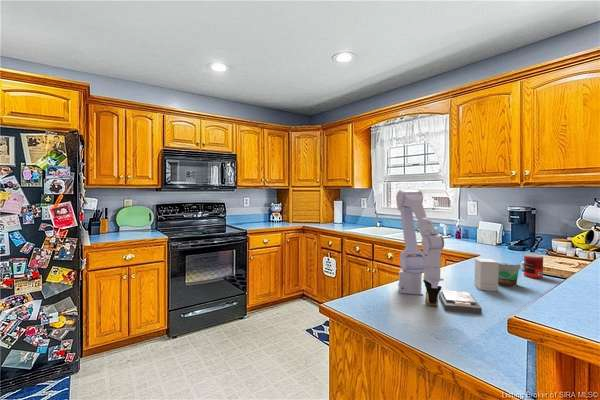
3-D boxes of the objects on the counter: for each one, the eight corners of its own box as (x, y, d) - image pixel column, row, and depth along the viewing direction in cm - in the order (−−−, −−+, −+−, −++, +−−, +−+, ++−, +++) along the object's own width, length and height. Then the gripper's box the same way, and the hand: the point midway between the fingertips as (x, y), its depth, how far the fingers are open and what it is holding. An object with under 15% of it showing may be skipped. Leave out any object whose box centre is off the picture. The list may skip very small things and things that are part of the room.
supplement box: (498, 291, 134) (499, 262, 134) (479, 290, 136) (480, 261, 135) (491, 285, 142) (492, 258, 141) (474, 284, 143) (474, 257, 143)
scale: (445, 310, 114) (445, 301, 114) (438, 296, 128) (438, 288, 128) (481, 313, 110) (481, 305, 110) (471, 299, 125) (471, 291, 125)
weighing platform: (446, 300, 117) (446, 299, 117) (441, 291, 127) (441, 290, 127) (476, 303, 114) (476, 302, 114) (468, 293, 124) (468, 292, 124)
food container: (491, 285, 142) (492, 263, 142) (489, 281, 148) (489, 261, 147) (523, 288, 138) (524, 266, 137) (519, 284, 143) (520, 263, 143)
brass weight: (426, 306, 118) (426, 294, 117) (424, 302, 122) (425, 290, 122) (438, 307, 116) (438, 295, 116) (436, 303, 121) (437, 291, 120)
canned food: (541, 275, 157) (542, 254, 157) (543, 279, 151) (544, 257, 150) (523, 273, 161) (523, 252, 161) (524, 277, 155) (524, 255, 154)
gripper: (447, 271, 110) (446, 309, 111) (440, 262, 124) (440, 295, 125) (425, 270, 112) (425, 307, 113) (421, 261, 126) (421, 294, 127)
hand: (431, 301), depth 119 cm, fingers closed on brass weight, 4 cm apart
